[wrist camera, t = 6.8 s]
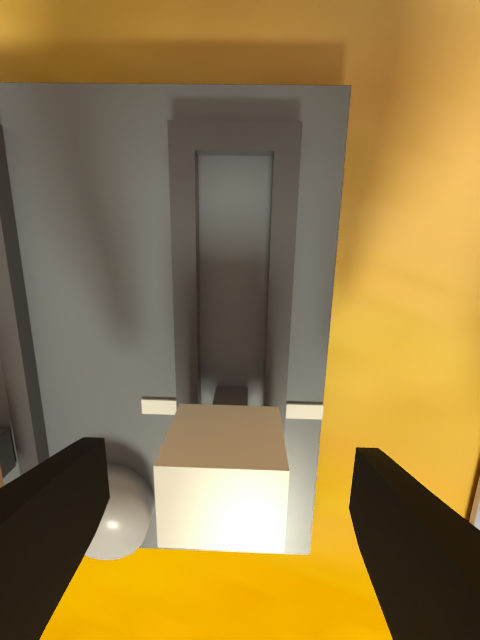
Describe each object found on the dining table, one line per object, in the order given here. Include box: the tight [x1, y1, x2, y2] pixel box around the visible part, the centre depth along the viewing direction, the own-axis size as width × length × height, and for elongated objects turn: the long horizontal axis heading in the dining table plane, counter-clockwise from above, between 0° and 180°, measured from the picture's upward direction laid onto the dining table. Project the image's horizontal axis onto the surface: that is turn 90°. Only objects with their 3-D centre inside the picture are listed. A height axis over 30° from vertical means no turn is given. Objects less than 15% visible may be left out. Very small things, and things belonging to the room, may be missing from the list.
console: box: [0, 82, 351, 560], centre depth 13 cm, size 15×18×3 cm
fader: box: [153, 387, 290, 553], centre depth 11 cm, size 3×2×5 cm
